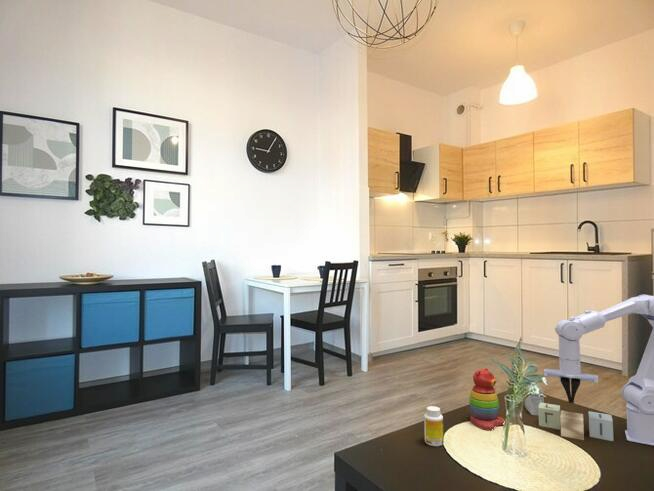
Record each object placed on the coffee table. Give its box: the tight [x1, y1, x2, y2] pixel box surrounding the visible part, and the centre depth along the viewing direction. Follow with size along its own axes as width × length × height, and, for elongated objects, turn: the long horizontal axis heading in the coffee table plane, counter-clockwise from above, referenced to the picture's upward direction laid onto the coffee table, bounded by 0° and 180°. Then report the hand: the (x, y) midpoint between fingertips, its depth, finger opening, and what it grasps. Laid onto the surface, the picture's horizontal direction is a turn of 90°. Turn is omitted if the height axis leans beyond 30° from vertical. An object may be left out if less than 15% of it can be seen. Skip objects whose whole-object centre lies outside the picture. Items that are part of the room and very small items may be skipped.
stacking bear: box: [468, 367, 506, 431], centre depth 133 cm, size 11×10×18 cm
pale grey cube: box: [588, 410, 615, 442], centre depth 122 cm, size 6×6×6 cm
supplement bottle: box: [423, 405, 444, 447], centre depth 118 cm, size 6×6×10 cm
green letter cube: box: [538, 402, 561, 431], centre depth 131 cm, size 6×6×6 cm
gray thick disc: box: [524, 389, 545, 417], centre depth 142 cm, size 8×4×9 cm, turn 168°
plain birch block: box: [560, 410, 585, 441], centre depth 123 cm, size 6×6×6 cm
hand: (571, 402), depth 124 cm, fingers closed
